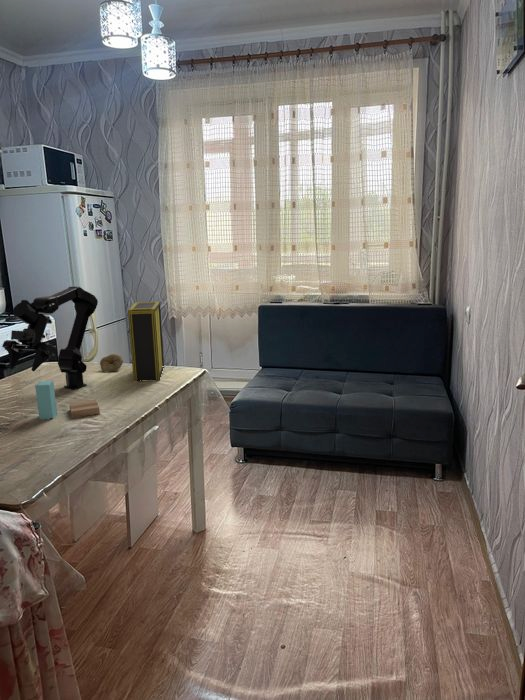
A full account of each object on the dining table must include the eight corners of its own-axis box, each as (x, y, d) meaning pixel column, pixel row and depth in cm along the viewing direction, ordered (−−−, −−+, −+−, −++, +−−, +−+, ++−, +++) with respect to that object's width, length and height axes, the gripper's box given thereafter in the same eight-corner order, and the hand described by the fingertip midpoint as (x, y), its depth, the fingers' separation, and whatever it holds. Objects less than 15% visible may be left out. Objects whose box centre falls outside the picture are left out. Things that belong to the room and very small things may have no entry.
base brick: (69, 410, 186) (69, 403, 185) (96, 406, 189) (95, 399, 189) (72, 418, 178) (71, 411, 177) (99, 414, 181) (99, 407, 181)
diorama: (140, 368, 237) (135, 302, 230) (164, 367, 238) (160, 301, 231) (133, 382, 217) (127, 309, 210) (159, 380, 218) (154, 308, 211)
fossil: (97, 357, 235) (120, 350, 238) (100, 362, 239) (122, 356, 241) (102, 373, 231) (124, 366, 233) (104, 378, 235) (126, 371, 237)
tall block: (43, 414, 182) (39, 381, 179) (57, 414, 182) (53, 380, 179) (39, 419, 177) (35, 385, 175) (53, 418, 178) (49, 384, 175)
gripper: (-1, 318, 185) (-17, 360, 179) (43, 320, 180) (29, 363, 174) (20, 332, 195) (5, 371, 189) (62, 334, 189) (49, 375, 184)
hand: (21, 370), depth 184 cm, fingers open, 9 cm apart
